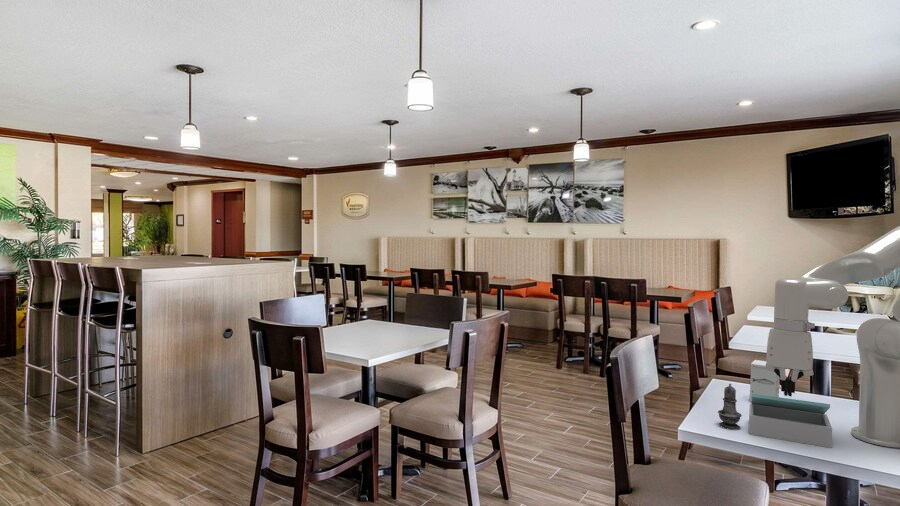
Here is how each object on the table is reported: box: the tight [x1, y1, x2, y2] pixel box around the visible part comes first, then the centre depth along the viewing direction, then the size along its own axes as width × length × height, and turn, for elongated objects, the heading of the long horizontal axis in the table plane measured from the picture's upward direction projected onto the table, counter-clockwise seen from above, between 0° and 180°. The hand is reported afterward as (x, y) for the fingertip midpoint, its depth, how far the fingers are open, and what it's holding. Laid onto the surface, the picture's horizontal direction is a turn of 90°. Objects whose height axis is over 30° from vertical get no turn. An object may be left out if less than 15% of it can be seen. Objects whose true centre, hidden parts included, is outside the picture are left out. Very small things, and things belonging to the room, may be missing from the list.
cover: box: [751, 394, 831, 414], centre depth 140 cm, size 17×13×1 cm
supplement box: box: [749, 359, 781, 403], centre depth 167 cm, size 7×7×13 cm
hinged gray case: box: [748, 402, 833, 449], centre depth 139 cm, size 18×12×5 cm, turn 59°
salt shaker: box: [717, 383, 742, 430], centre depth 145 cm, size 6×6×12 cm
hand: (787, 394), depth 137 cm, fingers closed
